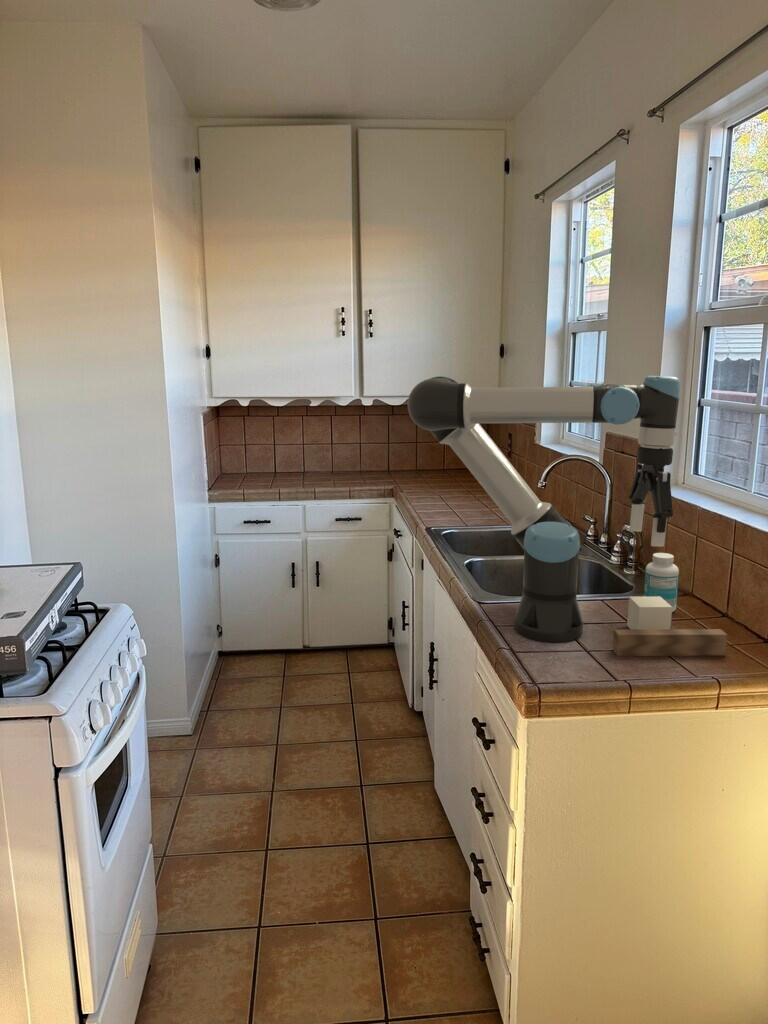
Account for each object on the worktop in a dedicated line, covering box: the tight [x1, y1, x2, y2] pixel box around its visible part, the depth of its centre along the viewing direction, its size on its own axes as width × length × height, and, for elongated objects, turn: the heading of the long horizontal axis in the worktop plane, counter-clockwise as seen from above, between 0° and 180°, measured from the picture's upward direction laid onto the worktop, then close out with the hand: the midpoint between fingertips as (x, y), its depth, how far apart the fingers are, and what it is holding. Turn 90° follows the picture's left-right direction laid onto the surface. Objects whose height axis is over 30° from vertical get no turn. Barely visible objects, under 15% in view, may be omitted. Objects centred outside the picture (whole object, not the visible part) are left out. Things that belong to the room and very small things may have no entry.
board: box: [612, 628, 728, 657], centre depth 150 cm, size 22×3×4 cm, turn 90°
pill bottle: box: [643, 552, 680, 613], centre depth 175 cm, size 8×7×14 cm
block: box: [626, 596, 673, 630], centre depth 162 cm, size 7×7×7 cm
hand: (646, 538), depth 168 cm, fingers open, 13 cm apart
